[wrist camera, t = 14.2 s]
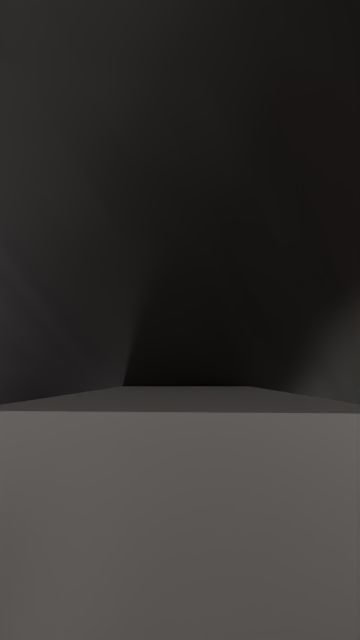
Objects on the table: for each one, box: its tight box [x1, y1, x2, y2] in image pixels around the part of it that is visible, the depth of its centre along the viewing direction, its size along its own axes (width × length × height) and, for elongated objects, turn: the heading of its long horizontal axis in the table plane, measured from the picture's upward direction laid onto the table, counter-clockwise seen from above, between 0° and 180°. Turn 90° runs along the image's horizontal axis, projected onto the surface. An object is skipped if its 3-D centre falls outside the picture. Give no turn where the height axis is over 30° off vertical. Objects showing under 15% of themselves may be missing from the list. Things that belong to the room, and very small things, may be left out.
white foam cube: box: [0, 386, 360, 640], centre depth 6 cm, size 8×8×9 cm
